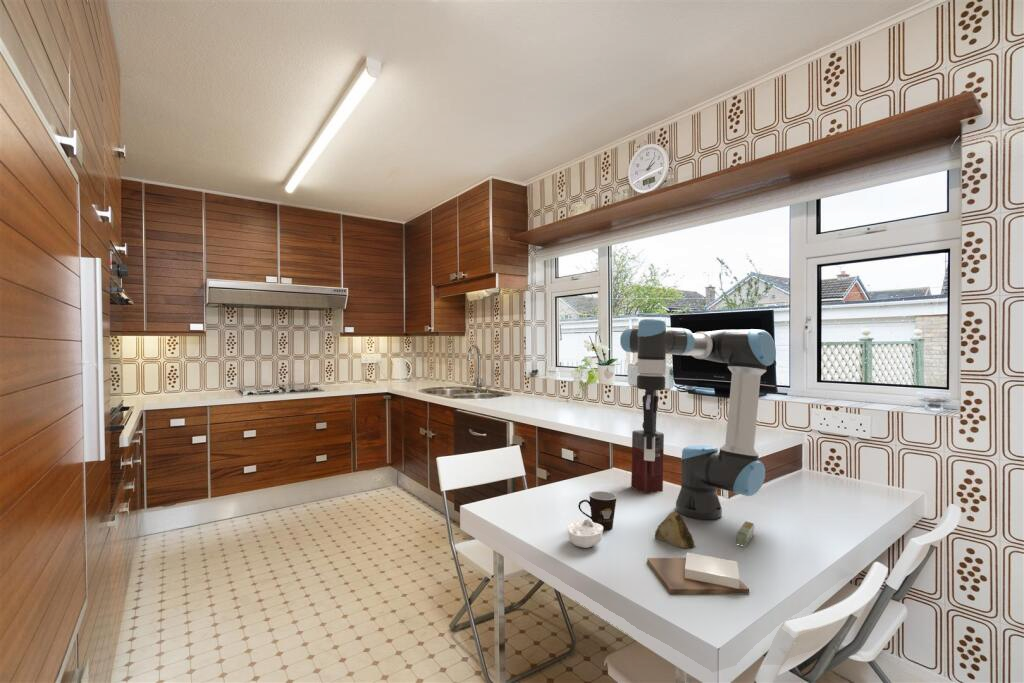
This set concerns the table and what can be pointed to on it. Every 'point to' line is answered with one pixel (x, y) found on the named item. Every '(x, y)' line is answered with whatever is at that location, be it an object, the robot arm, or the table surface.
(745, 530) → the medication box
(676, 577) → the board
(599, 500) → the coffee mug
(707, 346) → the robot arm
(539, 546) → the table surface
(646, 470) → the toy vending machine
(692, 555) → the tile
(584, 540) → the cell model
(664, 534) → the rock
